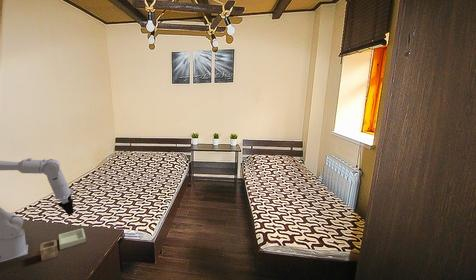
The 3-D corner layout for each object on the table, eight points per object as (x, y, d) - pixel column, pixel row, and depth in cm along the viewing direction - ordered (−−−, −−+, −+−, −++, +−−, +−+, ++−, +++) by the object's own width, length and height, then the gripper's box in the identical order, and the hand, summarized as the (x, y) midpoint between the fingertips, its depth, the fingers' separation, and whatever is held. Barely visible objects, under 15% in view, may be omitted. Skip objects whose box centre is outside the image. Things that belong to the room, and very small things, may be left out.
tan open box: (36, 262, 96) (35, 251, 95) (37, 255, 100) (36, 244, 99) (57, 256, 100) (56, 245, 99) (57, 249, 104) (56, 239, 103)
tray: (60, 250, 104) (59, 245, 103) (59, 239, 111) (58, 234, 111) (86, 242, 110) (85, 237, 110) (83, 232, 117) (83, 228, 117)
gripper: (71, 186, 102) (82, 212, 106) (68, 177, 113) (78, 201, 117) (51, 193, 98) (63, 220, 102) (50, 183, 109) (62, 208, 113)
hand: (70, 210), depth 109 cm, fingers open, 7 cm apart
